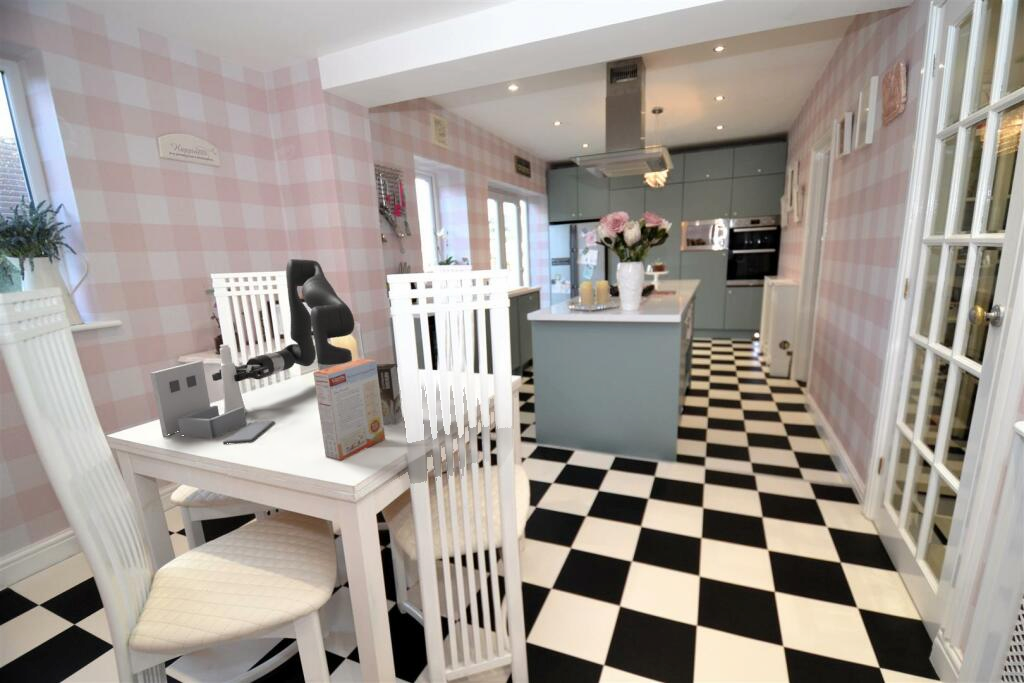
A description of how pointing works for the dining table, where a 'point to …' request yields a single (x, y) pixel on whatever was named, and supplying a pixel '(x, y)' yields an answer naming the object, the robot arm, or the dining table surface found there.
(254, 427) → the phone
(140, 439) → the dining table surface
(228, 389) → the cosmetic bottle
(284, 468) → the dining table surface
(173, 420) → the outlet dock
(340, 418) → the cracker box
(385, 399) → the coffee box
